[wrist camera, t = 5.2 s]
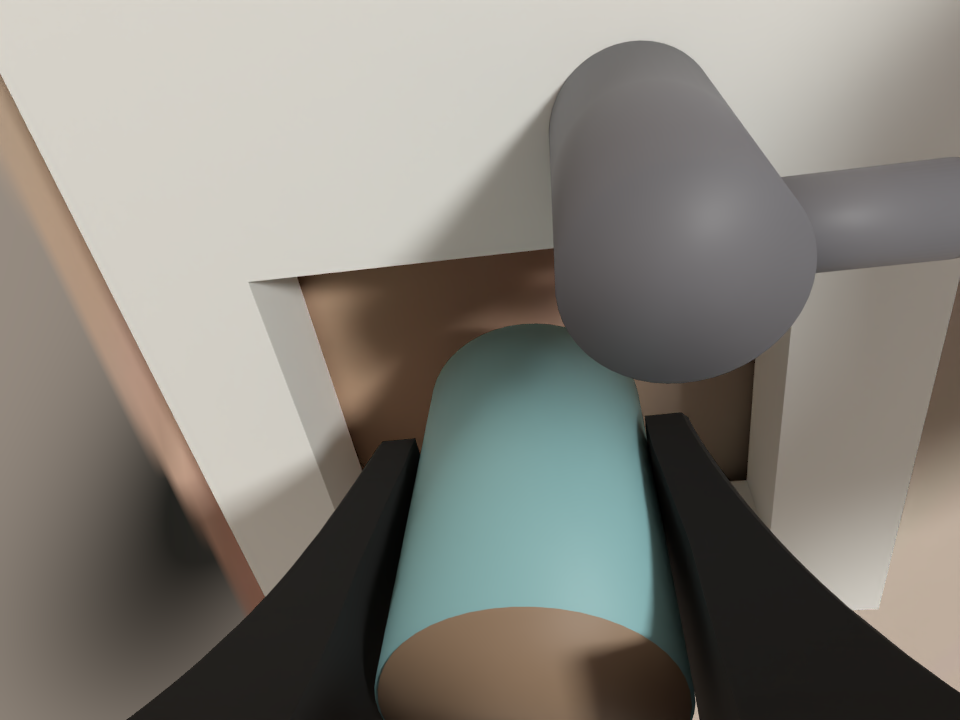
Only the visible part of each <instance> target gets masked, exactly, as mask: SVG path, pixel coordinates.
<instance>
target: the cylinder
mask: <svg viewBox="0 0 960 720" xmlns="http://www.w3.org/2000/svg"><path fill="white" fill-rule="evenodd" d="M374 689H375V700H376V703H377V707H378V710H379V712H380V714H381V716H382V718H383V720H692V718H693V715H694V710H695V693H694V686H693V681H692V676H691V671H690V665H689V660H688V655H687V649H686V644H685V639H684V633H683V628H682V623H681V618H680V612H679V607H678V602H677V596H676V591H675V586H674V581H673V575H672V570H671V565H670V559H669V554H668V549H667V543H666V538H665V533H664V528H663V522H662V517H661V512H660V506H659V501H658V496H657V491H656V486H655V482H654V477H653V472H652V466H651V461H650V456H649V450H648V445H647V438H646V432H645V427H644V422H643V416H642V411H641V406H640V401H639V395H638V391H637V388H636V384H635V381H634V379H633V378H629V377H626V376H623V375H621V374H618V373H616V372H614V371H611V370H609V369H607V368H606V367H604V366H602V365H601V364H599V363H597V362H596V361H595V360H593V359H592V358H591V357H590V356H588V355H587V354H586V353H585V352H584V351H583V350H582V349H581V348H580V347H579V346H578V345H577V344H576V342H575V341H574V340H573V338H572V337H571V336H570V334H569V333H568V331H567V329H566V327H561V326H556V325H550V324H520V325H513V326H507V327H503V328H500V329H496V330H493V331H490V332H488V333H486V334H483V335H481V336H479V337H477V338H475V339H474V340H472V341H470V342H468V343H467V344H466V345H464V346H463V347H462V348H460V349H459V350H458V351H457V352H456V353H455V354H454V355H453V356H452V357H451V358H450V359H449V360H448V362H447V363H446V364H445V366H444V367H443V368H442V370H441V372H440V374H439V376H438V378H437V380H436V383H435V386H434V389H433V394H432V399H431V404H430V409H429V414H428V419H427V424H426V429H425V434H424V439H423V444H422V449H421V454H420V459H419V464H418V469H417V474H416V479H415V484H414V489H413V494H412V499H411V504H410V509H409V514H408V519H407V524H406V529H405V534H404V539H403V544H402V549H401V554H400V559H399V564H398V569H397V574H396V579H395V584H394V589H393V594H392V599H391V604H390V609H389V614H388V619H387V624H386V629H385V634H384V639H383V644H382V649H381V654H380V659H379V664H378V669H377V674H376V679H375V686H374Z"/></svg>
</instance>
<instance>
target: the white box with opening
mask: <svg viewBox="0 0 960 720" xmlns="http://www.w3.org/2000/svg"><path fill="white" fill-rule="evenodd" d="M0 74H1V76H2V78H3V80H4V82H5V84H6V86H7V88H8V90H9V92H10V93H11V95H12V97H13V99H14V101H15V103H16V105H17V107H18V109H19V111H20V113H21V115H22V117H23V119H24V121H25V123H26V125H27V127H28V129H29V131H30V133H31V135H32V137H33V139H34V141H35V143H36V145H37V147H38V149H39V151H40V153H41V155H42V157H43V159H44V161H45V163H46V165H47V167H48V169H49V171H50V173H51V175H52V177H53V178H54V180H55V182H56V184H57V186H58V188H59V190H60V192H61V194H62V196H63V198H64V200H65V202H66V204H67V206H68V208H69V210H70V212H71V214H72V216H73V218H74V220H75V222H76V224H77V226H78V228H79V230H80V232H81V234H82V236H83V238H84V240H85V242H86V244H87V246H88V248H89V250H90V252H91V254H92V256H93V258H94V260H95V262H96V263H97V265H98V267H99V269H100V271H101V273H102V275H103V277H104V279H105V281H106V283H107V285H108V287H109V289H110V291H111V293H112V295H113V297H114V299H115V301H116V303H117V305H118V307H119V309H120V311H121V313H122V315H123V317H124V319H125V321H126V323H127V325H128V327H129V329H130V331H131V333H132V335H133V337H134V339H135V341H136V343H137V345H138V347H139V349H140V350H141V352H142V354H143V356H144V358H145V360H146V362H147V364H148V366H149V368H150V370H151V372H152V374H153V376H154V378H155V380H156V382H157V384H158V386H159V388H160V390H161V392H162V394H163V396H164V398H165V400H166V402H167V404H168V406H169V408H170V410H171V412H172V414H173V416H174V418H175V420H176V422H177V424H178V426H179V428H180V430H181V432H182V434H183V435H184V437H185V439H186V441H187V443H188V445H189V447H190V449H191V451H192V453H193V455H194V457H195V459H196V461H197V463H198V465H199V467H200V469H201V471H202V473H203V475H204V477H205V479H206V481H207V483H208V485H209V487H210V489H211V491H212V493H213V495H214V497H215V499H216V501H217V503H218V505H219V507H220V509H221V511H222V513H223V515H224V517H225V519H226V521H227V522H228V524H229V526H230V528H231V530H232V532H233V534H234V536H235V538H236V540H237V542H238V544H239V546H240V548H241V550H242V552H243V554H244V556H245V558H246V560H247V562H248V564H249V566H250V568H251V570H252V572H253V574H254V576H255V578H256V580H257V582H258V584H259V586H260V588H261V590H262V592H263V594H264V596H265V597H266V596H267V595H268V594H269V592H270V591H271V590H272V589H273V588H274V587H275V586H276V585H277V583H278V582H279V581H280V580H281V579H282V578H283V576H284V575H285V574H286V573H287V572H288V571H289V569H290V568H291V567H292V566H293V564H294V563H295V562H296V561H297V559H298V558H299V557H300V556H301V554H302V553H303V552H304V551H305V549H306V548H307V547H308V546H309V544H310V543H311V542H312V541H313V539H314V538H315V537H316V536H317V534H318V533H319V532H320V530H321V529H322V528H323V526H324V525H325V523H326V522H327V521H328V519H329V518H330V516H331V515H332V514H333V512H334V511H335V510H336V508H337V507H338V505H339V504H340V503H341V501H342V500H343V498H344V497H345V495H346V494H347V493H348V491H349V490H350V488H351V487H352V485H353V484H354V482H355V481H356V479H357V478H358V476H359V475H360V473H361V472H362V469H361V466H360V463H359V460H358V457H357V454H356V451H355V449H354V446H353V443H352V440H351V437H350V434H349V431H348V428H347V425H346V422H345V419H344V416H343V413H342V410H341V407H340V404H339V401H338V398H337V395H336V392H335V389H334V386H333V383H332V380H331V377H330V374H329V371H328V368H327V365H326V362H325V359H324V356H323V353H322V350H321V347H320V344H319V341H318V338H317V335H316V332H315V329H314V327H313V324H312V321H311V318H310V315H309V312H308V309H307V306H306V303H305V300H304V297H303V294H302V291H301V288H300V285H299V282H298V279H297V277H298V276H307V275H316V274H325V273H334V272H343V271H352V270H361V269H370V268H379V267H388V266H397V265H406V264H415V263H424V262H433V261H442V260H451V259H460V258H469V257H478V256H487V255H496V254H505V253H514V252H523V251H532V250H541V249H550V248H554V270H555V293H556V300H557V305H558V310H559V313H560V315H561V318H562V321H563V323H564V325H565V327H566V329H567V331H568V333H569V334H570V336H571V337H572V338H573V340H574V341H575V342H576V344H577V345H578V346H579V347H580V348H581V349H582V350H583V351H584V352H585V353H586V354H587V355H588V356H590V357H591V358H592V359H593V360H595V361H596V362H597V363H599V364H601V365H602V366H604V367H606V368H607V369H609V370H611V371H614V372H616V373H618V374H621V375H623V376H626V377H629V378H633V379H636V380H641V381H647V382H652V383H666V384H669V383H687V382H694V381H700V380H704V379H709V378H713V377H716V376H719V375H722V374H725V373H728V372H730V371H732V370H734V369H737V368H739V367H741V366H743V365H745V364H747V363H748V362H750V361H752V360H753V359H755V370H754V384H753V398H752V412H751V426H750V440H749V455H748V469H747V480H745V481H730V482H731V484H732V485H733V486H734V487H735V489H736V490H737V491H738V493H739V494H740V495H741V496H742V498H743V499H744V500H745V501H746V503H747V504H748V505H749V506H750V508H751V509H752V510H753V511H754V512H755V513H756V515H757V516H758V517H759V518H760V519H761V521H762V522H763V523H764V524H765V525H766V526H767V527H768V528H769V529H770V531H771V532H772V533H773V534H774V535H775V536H776V537H777V538H778V540H779V541H780V542H781V543H782V544H783V545H784V546H785V547H786V548H787V549H788V550H789V551H790V552H791V553H792V554H793V555H794V556H795V557H796V558H797V559H798V560H799V561H800V562H801V563H802V564H803V565H804V566H805V567H806V568H807V569H808V570H809V571H810V572H811V573H812V574H813V575H814V576H815V577H816V578H817V579H818V580H819V581H820V582H821V583H822V584H823V585H825V586H826V587H827V588H828V589H829V590H830V591H831V592H832V593H833V594H834V595H836V596H837V597H838V598H839V599H840V600H841V601H842V602H843V603H844V604H846V605H847V606H848V607H849V608H850V609H851V610H870V609H879V606H880V602H881V597H882V593H883V589H884V585H885V581H886V577H887V573H888V569H889V565H890V561H891V557H892V553H893V549H894V545H895V541H896V536H897V532H898V528H899V524H900V520H901V516H902V512H903V508H904V504H905V500H906V496H907V492H908V488H909V484H910V479H911V475H912V471H913V467H914V463H915V459H916V455H917V451H918V447H919V443H920V439H921V435H922V431H923V427H924V422H925V418H926V414H927V410H928V406H929V402H930V398H931V394H932V390H933V386H934V382H935V378H936V374H937V370H938V365H939V361H940V357H941V353H942V349H943V345H944V341H945V337H946V333H947V329H948V325H949V321H950V317H951V313H952V308H953V304H954V300H955V296H956V292H957V288H958V284H959V280H960V0H0Z"/></svg>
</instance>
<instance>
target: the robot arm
mask: <svg viewBox="0 0 960 720" xmlns="http://www.w3.org/2000/svg"><path fill="white" fill-rule="evenodd" d="M645 423H646V438H647V445H648V450H649V456H650V461H651V466H652V472H653V477H654V482H655V486H656V491H657V496H658V501H659V506H660V512H661V517H662V522H663V528H664V533H665V538H666V543H667V549H668V554H669V559H670V565H671V570H672V575H673V581H674V586H675V591H676V596H677V602H678V607H679V612H680V618H681V623H682V628H683V633H684V639H685V644H686V649H687V655H688V660H689V665H690V671H691V676H692V681H693V686H694V692H695V697H696V702H697V707H698V713H699V719H700V720H960V692H958V691H957V690H955V689H954V688H952V687H951V686H949V685H948V684H947V683H945V682H944V681H942V680H941V679H940V678H938V677H937V676H936V675H934V674H933V673H932V672H930V671H929V670H927V669H926V668H925V667H923V666H922V665H921V664H919V663H918V662H916V661H915V660H914V659H912V658H911V657H910V656H908V655H907V654H906V653H904V652H903V651H902V650H901V649H899V648H898V647H897V646H896V645H894V644H893V643H892V642H891V641H890V640H888V639H887V638H886V637H885V636H883V635H882V634H881V633H880V632H878V631H877V630H876V629H875V628H873V627H872V626H871V625H870V624H868V623H867V622H866V621H865V620H864V619H862V618H861V617H860V616H859V615H857V614H856V613H855V612H854V611H852V610H851V609H850V608H849V607H848V606H847V605H846V604H844V603H843V602H842V601H841V600H840V599H839V598H838V597H837V596H836V595H834V594H833V593H832V592H831V591H830V590H829V589H828V588H827V587H826V586H825V585H823V584H822V583H821V582H820V581H819V580H818V579H817V578H816V577H815V576H814V575H813V574H812V573H811V572H810V571H809V570H808V569H807V568H806V567H805V566H804V565H803V564H802V563H801V562H800V561H799V560H798V559H797V558H796V557H795V556H794V555H793V554H792V553H791V552H790V551H789V550H788V549H787V548H786V547H785V546H784V545H783V544H782V543H781V542H780V541H779V540H778V538H777V537H776V536H775V535H774V534H773V533H772V532H771V531H770V529H769V528H768V527H767V526H766V525H765V524H764V523H763V522H762V521H761V519H760V518H759V517H758V516H757V515H756V513H755V512H754V511H753V510H752V509H751V508H750V506H749V505H748V504H747V503H746V501H745V500H744V499H743V498H742V496H741V495H740V494H739V493H738V491H737V490H736V489H735V487H734V486H733V485H732V484H731V482H730V481H729V480H728V479H727V477H726V476H725V474H724V473H723V472H722V470H721V469H720V468H719V466H718V465H717V463H716V462H715V460H714V459H713V458H712V456H711V455H710V453H709V452H708V450H707V449H706V447H705V446H704V444H703V443H702V441H701V439H700V438H699V436H698V434H697V433H696V431H695V429H694V427H693V426H692V424H691V422H690V420H689V418H688V417H687V416H686V415H684V414H683V413H672V414H661V415H651V416H645ZM419 459H420V453H419V449H418V446H417V443H416V440H415V438H414V439H404V440H394V441H384V442H382V443H381V444H380V445H379V447H378V448H377V450H376V451H375V452H374V454H373V455H372V457H371V458H370V460H369V461H368V463H367V464H366V466H365V467H364V469H363V470H362V472H361V473H360V475H359V476H358V478H357V479H356V481H355V482H354V484H353V485H352V487H351V488H350V490H349V491H348V493H347V494H346V495H345V497H344V498H343V500H342V501H341V503H340V504H339V505H338V507H337V508H336V510H335V511H334V512H333V514H332V515H331V516H330V518H329V519H328V521H327V522H326V523H325V525H324V526H323V528H322V529H321V530H320V532H319V533H318V534H317V536H316V537H315V538H314V539H313V541H312V542H311V543H310V544H309V546H308V547H307V548H306V549H305V551H304V552H303V553H302V554H301V556H300V557H299V558H298V559H297V561H296V562H295V563H294V564H293V566H292V567H291V568H290V569H289V571H288V572H287V573H286V574H285V575H284V576H283V578H282V579H281V580H280V581H279V582H278V583H277V585H276V586H275V587H274V588H273V589H272V590H271V591H270V592H269V594H268V595H267V596H266V597H265V598H264V599H263V600H262V601H261V602H260V603H259V604H258V605H257V606H256V607H255V609H254V610H253V611H252V612H251V613H250V614H249V615H248V616H247V617H246V618H245V619H244V620H243V621H242V622H241V623H240V624H239V625H238V626H237V627H236V628H235V629H233V630H232V631H231V632H230V633H229V634H228V635H227V636H226V637H225V638H224V639H223V640H222V641H221V642H220V643H218V644H217V645H216V646H215V647H214V648H213V649H212V650H211V651H210V652H209V653H208V654H207V655H206V656H205V657H203V658H202V659H201V660H200V661H199V662H198V663H197V664H196V665H194V666H193V667H192V668H191V669H190V670H189V671H187V672H186V673H185V674H184V675H183V676H181V677H180V678H179V679H178V680H177V681H176V682H174V683H173V684H172V685H171V686H170V687H168V688H167V689H166V690H164V691H163V692H162V693H161V694H159V695H158V696H157V697H156V698H155V699H153V700H152V701H151V702H149V703H148V704H147V705H145V706H144V707H143V708H142V709H140V710H139V711H138V712H136V713H135V714H134V715H132V716H131V717H130V718H128V719H127V720H383V718H382V716H381V714H380V712H379V710H378V707H377V703H376V700H375V689H374V686H375V679H376V674H377V669H378V664H379V659H380V654H381V649H382V644H383V639H384V634H385V629H386V624H387V619H388V614H389V609H390V604H391V599H392V594H393V589H394V584H395V579H396V574H397V569H398V564H399V559H400V554H401V549H402V544H403V539H404V534H405V529H406V524H407V519H408V514H409V509H410V504H411V499H412V494H413V489H414V484H415V479H416V474H417V469H418V464H419Z"/></svg>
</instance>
